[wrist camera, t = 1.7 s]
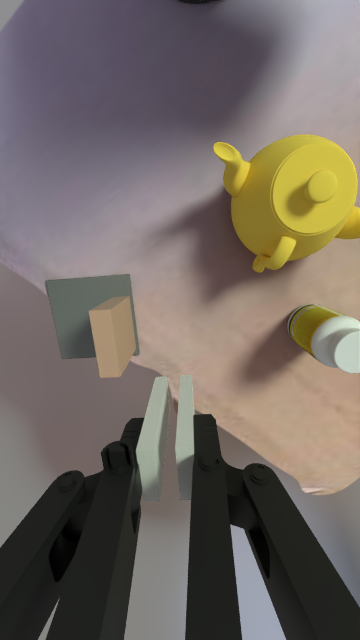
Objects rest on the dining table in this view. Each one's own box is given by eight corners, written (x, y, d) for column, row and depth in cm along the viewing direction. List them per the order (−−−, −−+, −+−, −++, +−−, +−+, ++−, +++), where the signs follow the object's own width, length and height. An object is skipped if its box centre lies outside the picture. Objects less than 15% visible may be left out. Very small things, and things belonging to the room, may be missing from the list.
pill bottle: (282, 342, 37) (320, 378, 27) (289, 301, 36) (332, 322, 25) (325, 345, 37) (380, 382, 26) (333, 304, 36) (395, 325, 25)
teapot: (182, 244, 34) (180, 239, 23) (225, 124, 30) (246, 50, 19) (316, 295, 35) (374, 314, 24) (373, 186, 32) (472, 149, 20)
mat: (47, 280, 36) (45, 280, 36) (129, 274, 35) (128, 274, 35) (63, 358, 39) (62, 359, 39) (139, 353, 38) (138, 354, 38)
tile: (111, 297, 36) (87, 311, 27) (129, 295, 36) (110, 309, 27) (119, 349, 38) (98, 377, 29) (136, 348, 38) (120, 376, 29)
